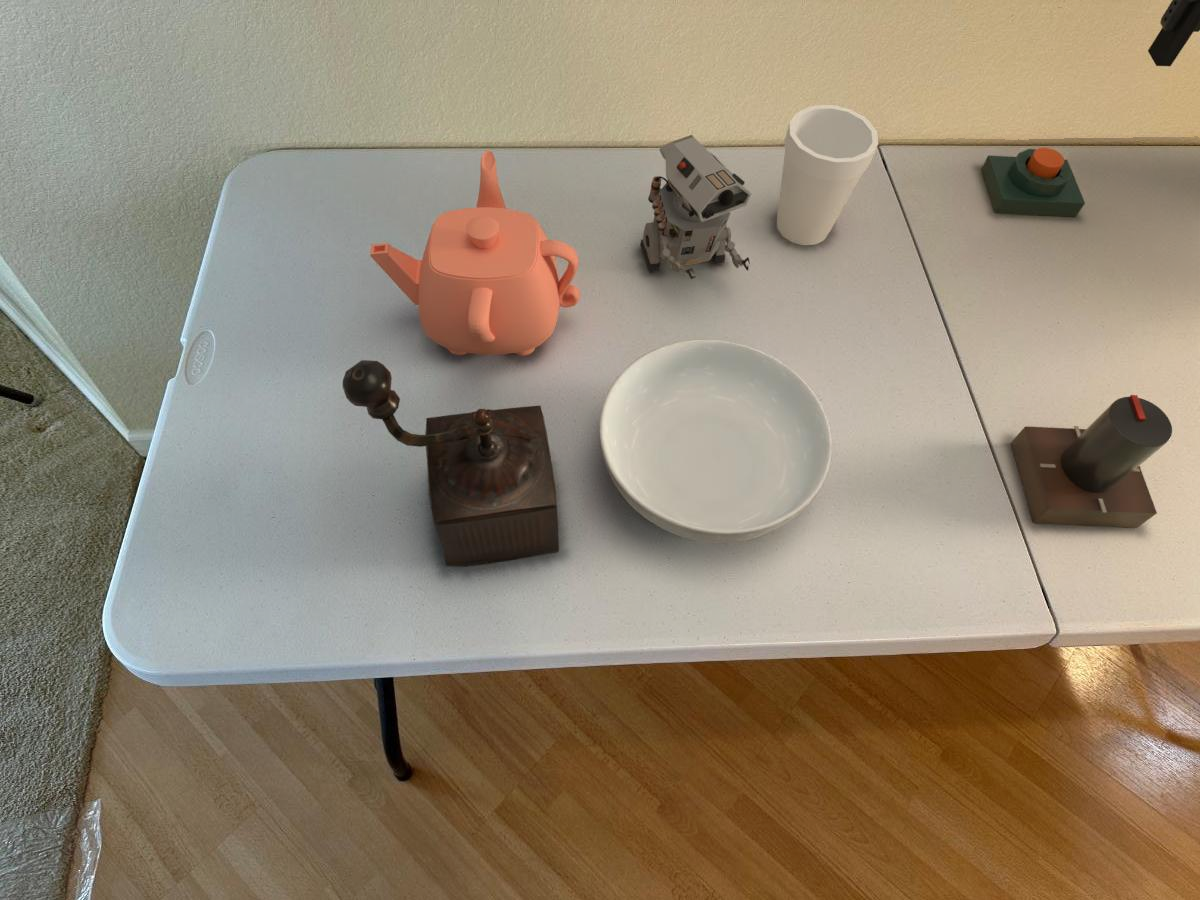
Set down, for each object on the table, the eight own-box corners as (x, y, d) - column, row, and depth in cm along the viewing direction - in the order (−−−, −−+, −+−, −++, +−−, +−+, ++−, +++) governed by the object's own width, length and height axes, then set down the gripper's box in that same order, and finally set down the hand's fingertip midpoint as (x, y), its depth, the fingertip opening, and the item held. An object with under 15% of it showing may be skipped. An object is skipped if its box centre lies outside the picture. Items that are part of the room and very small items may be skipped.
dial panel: (1108, 445, 81) (1127, 428, 79) (1138, 529, 76) (1159, 514, 74) (1010, 440, 81) (1025, 423, 78) (1033, 525, 76) (1050, 509, 73)
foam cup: (747, 224, 96) (771, 130, 85) (794, 188, 100) (823, 93, 89) (811, 267, 93) (844, 175, 82) (857, 228, 96) (895, 135, 85)
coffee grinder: (544, 450, 78) (540, 330, 63) (561, 554, 73) (561, 449, 58) (382, 471, 77) (337, 352, 61) (386, 579, 71) (337, 478, 56)
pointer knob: (1125, 494, 75) (1183, 446, 68) (1069, 490, 75) (1121, 442, 68) (1109, 446, 77) (1163, 396, 70) (1055, 443, 77) (1104, 392, 70)
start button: (1052, 160, 99) (1059, 148, 97) (1060, 180, 97) (1068, 168, 95) (1023, 158, 99) (1030, 146, 97) (1030, 178, 97) (1037, 166, 95)
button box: (1058, 173, 103) (1075, 147, 100) (1075, 217, 99) (1093, 191, 95) (980, 169, 103) (994, 142, 99) (994, 213, 99) (1009, 186, 95)
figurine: (660, 313, 88) (677, 206, 75) (636, 239, 94) (648, 128, 81) (740, 302, 90) (769, 195, 77) (711, 229, 95) (734, 119, 83)
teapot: (384, 323, 86) (357, 226, 75) (496, 240, 93) (486, 141, 82) (492, 406, 81) (481, 316, 70) (601, 312, 88) (607, 216, 77)
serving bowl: (690, 347, 86) (699, 303, 80) (854, 466, 79) (877, 427, 73) (551, 467, 77) (550, 428, 72) (721, 612, 70) (735, 582, 65)
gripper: (1393, -232, 67) (1207, 40, 87) (1237, -238, 67) (1087, 36, 87) (1441, -194, 63) (1234, 82, 83) (1275, -200, 63) (1108, 77, 83)
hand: (1159, 58), depth 85 cm, fingers closed
